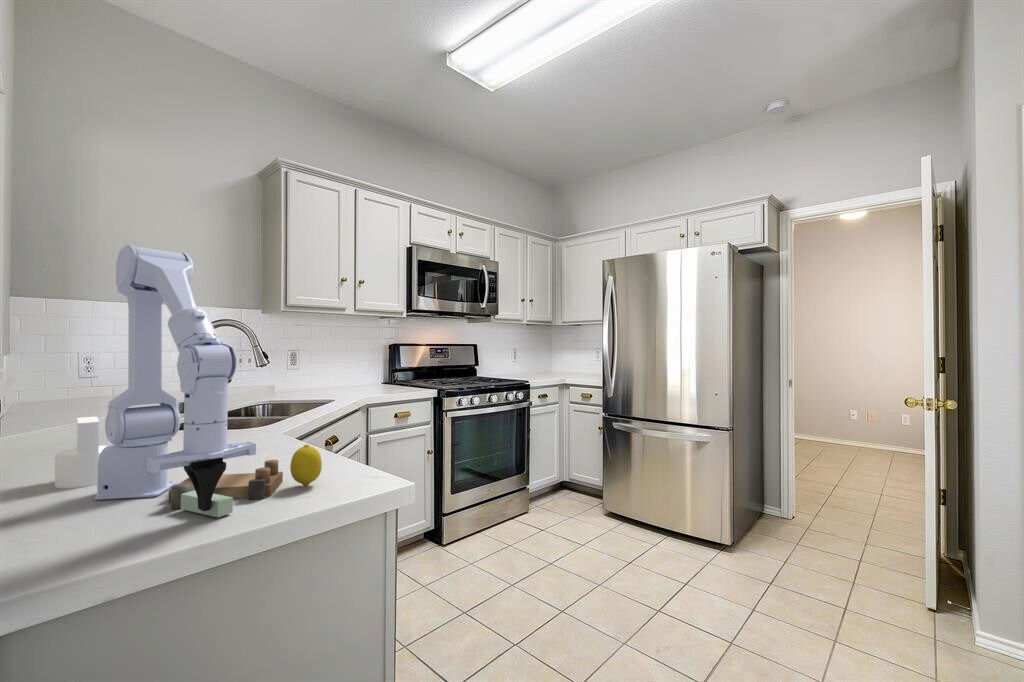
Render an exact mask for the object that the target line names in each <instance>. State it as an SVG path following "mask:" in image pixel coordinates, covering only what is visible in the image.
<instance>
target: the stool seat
mask: <svg viewBox="0 0 1024 682" xmlns="http://www.w3.org/2000/svg"><path fill="white" fill-rule="evenodd" d="M283 475H284V471H279V460H278V459H268V460H264V467H258V468H256V469H255V472H246V473H230V474H229V473H228V474H227V473H226V474H224V473H223V474H222V476H221V478H220V479H219V481H218V483H217V485H216V488H215V490H214V493H213V494H218V495H223V496H228V497H233V499H242V498H243V499H244V498H245V499H246V498H247V500H248V501H253V500H254V501H255V500H264V499H265V497H271V496H272V495H273V494H274V492H276V491H277V490H278V488H279V487H280V485H281V484H282V483H283V482H284V481H283V479H284V478H283ZM194 490H195V488H194V486H193V484H192V482H191V480H190V478H189V477H187V478H186V479H184V480H183V481H181V482H180V483H177V484H176V485H173V486H171V488H169V489H168V499H167V500H168V503H170V509H171V510H182V509H181V494H183V493H187V492H190V491H194Z"/></svg>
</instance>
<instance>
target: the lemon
mask: <svg viewBox="0 0 1024 682" xmlns="http://www.w3.org/2000/svg"><path fill="white" fill-rule="evenodd" d="M322 467H323V461H322V456H321V453H320V451H319V450H318V449H317V448H315V447H314V446H310V445H309V444H304V445H303V446H302V447H300V448H298V449H297V450H295V452H294V453H293V454H292V457H291V460H290V467H289V469H290V473H291V476H292V479H293V480H294V481H295V482H297V483H298V484H301V485H302V486H303V487H308V486H309V485H310V484H311V483H313V482H315V481H316V480H317V479H318V478H319V476H320V475H321V472H322Z"/></svg>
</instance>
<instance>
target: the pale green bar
mask: <svg viewBox="0 0 1024 682" xmlns="http://www.w3.org/2000/svg"><path fill="white" fill-rule="evenodd" d="M233 502H234V498H233V497H228V496H223V495H218V494H213V496H212V499H211V509H210V510H208V511H202V510H200V509H198V497H197V494H196V491H195V490H194V491H190V492H187V493H183V494H181V509H180V510H183V511H189V512H192V513H197V514H201V515H206V516H210V517H214V518H221V517H223V516H226V515H230V514H233V510H234V507H233V505H234V503H233Z"/></svg>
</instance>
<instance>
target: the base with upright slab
mask: <svg viewBox="0 0 1024 682" xmlns="http://www.w3.org/2000/svg"><path fill="white" fill-rule="evenodd" d="M106 446H107V445H100V420H99V418H98V416H85V417H77V418H76V447H75V448H70V449H64V450H60V451H57V452H56V453H55V454H54V487H55V488H58V487H59V488H58V489H77V488H85V487H92V486H97V484H98V460H99V456H100V454H101V452H102V450H103V449H104V448H105V447H106Z"/></svg>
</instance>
